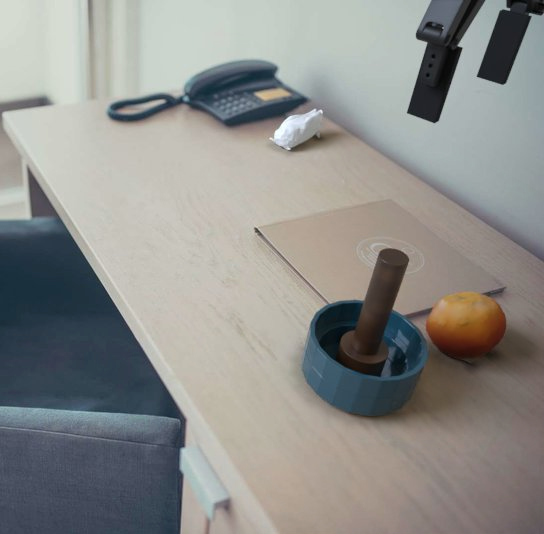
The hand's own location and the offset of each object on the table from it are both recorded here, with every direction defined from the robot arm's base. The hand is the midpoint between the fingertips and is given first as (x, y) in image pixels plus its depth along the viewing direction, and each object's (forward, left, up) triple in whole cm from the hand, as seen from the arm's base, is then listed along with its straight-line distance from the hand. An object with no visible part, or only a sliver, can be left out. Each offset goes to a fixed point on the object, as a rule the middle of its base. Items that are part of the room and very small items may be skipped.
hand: (458, 97), depth 61 cm
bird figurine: (+36, -30, -29) cm, 55 cm away
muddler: (-3, +11, -28) cm, 30 cm away
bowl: (-3, +11, -29) cm, 31 cm away
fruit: (-8, -3, -29) cm, 30 cm away
